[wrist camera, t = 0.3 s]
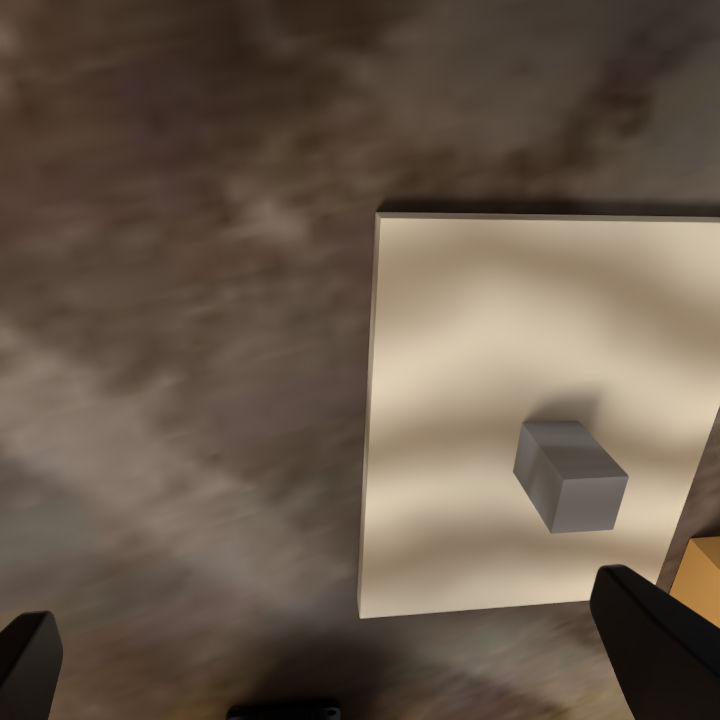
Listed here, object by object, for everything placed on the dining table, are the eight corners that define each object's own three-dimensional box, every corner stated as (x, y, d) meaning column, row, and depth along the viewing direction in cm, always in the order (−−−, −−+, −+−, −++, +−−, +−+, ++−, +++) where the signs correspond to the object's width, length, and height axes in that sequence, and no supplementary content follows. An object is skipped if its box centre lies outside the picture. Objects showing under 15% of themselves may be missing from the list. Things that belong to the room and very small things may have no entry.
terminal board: (638, 577, 31) (701, 662, 26) (357, 599, 29) (371, 695, 24) (761, 217, 23) (884, 248, 18) (375, 211, 21) (402, 245, 16)
